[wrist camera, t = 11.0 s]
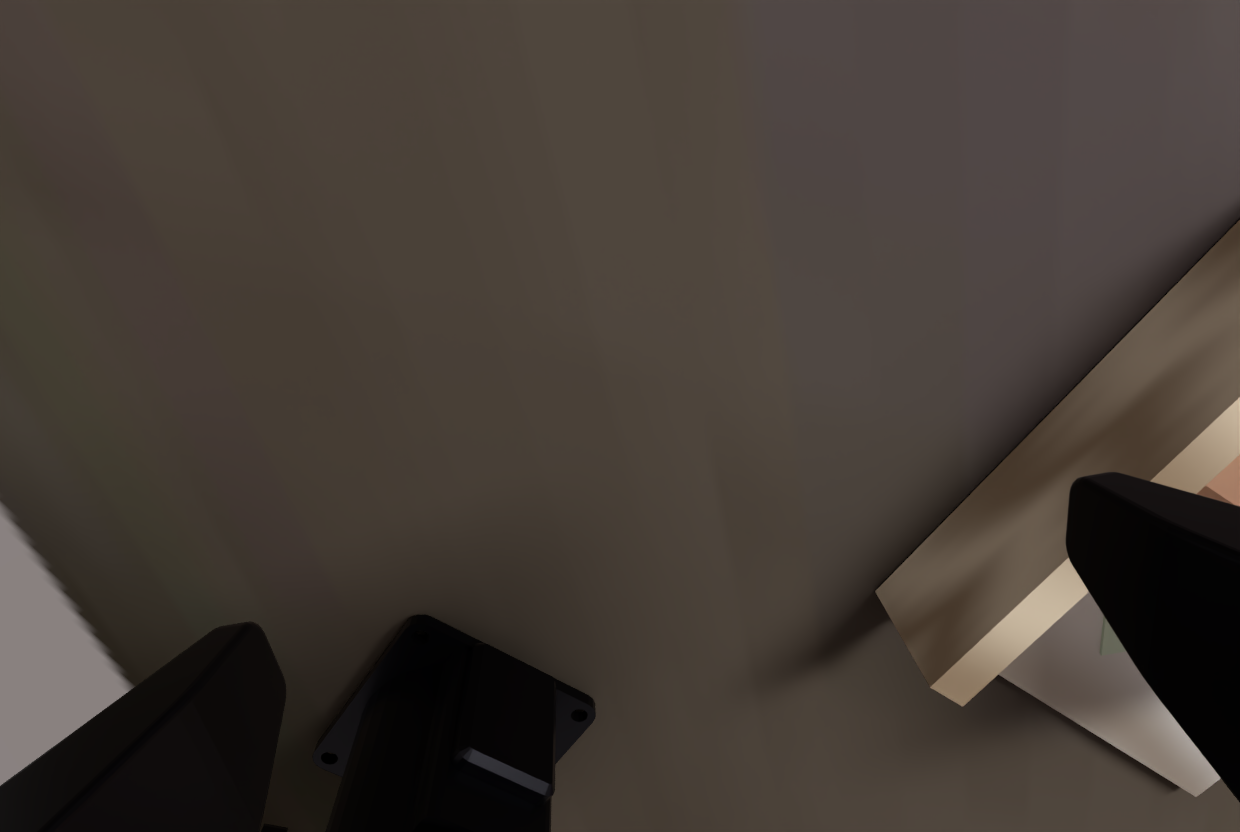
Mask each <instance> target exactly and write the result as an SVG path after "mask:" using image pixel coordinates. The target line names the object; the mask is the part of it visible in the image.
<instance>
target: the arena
mask: <svg viewBox="0 0 1240 832" xmlns="http://www.w3.org/2000/svg"><path fill="white" fill-rule="evenodd" d="M1239 455H1240V220H1239V221H1238V222H1237V223H1236V224H1235V225H1234V226H1233V227H1232V228H1231V229H1230V230H1229V231H1228V232H1227V233H1226V234H1225V235H1224V236H1223V237H1222V238H1221V239H1220V240H1219V241H1218V242H1217V243H1216V244H1215V245H1214V246H1213V247H1212V248H1211V249H1210V250H1209V251H1208V252H1207V254H1206V255H1205V256H1204V257H1203V258H1202V259H1201V260H1200V261H1199V262H1198V263H1197V264H1196V265H1195V266H1194V267H1193V268H1192V269H1191V270H1190V271H1189V272H1188V273H1187V274H1186V275H1185V276H1184V277H1183V278H1182V279H1181V280H1180V281H1179V282H1178V283H1177V284H1176V285H1175V286H1174V287H1173V288H1172V289H1171V290H1170V291H1169V292H1168V293H1167V294H1166V295H1165V296H1164V297H1163V298H1162V299H1161V300H1160V301H1159V302H1158V303H1157V304H1156V305H1155V307H1154V308H1153V309H1152V310H1151V311H1150V312H1149V313H1148V314H1147V315H1146V316H1145V317H1144V318H1143V319H1142V320H1141V321H1140V322H1139V323H1138V324H1137V325H1136V326H1135V327H1134V328H1133V329H1132V330H1131V331H1130V332H1129V333H1128V334H1127V335H1126V336H1125V337H1124V338H1123V339H1122V340H1121V341H1120V342H1119V343H1118V344H1117V345H1116V346H1115V347H1114V348H1113V349H1112V350H1111V351H1110V352H1109V353H1108V354H1107V355H1106V356H1105V357H1104V358H1103V360H1102V361H1101V362H1100V363H1099V364H1098V365H1097V366H1096V367H1095V368H1094V369H1093V370H1092V371H1091V372H1090V373H1089V374H1088V375H1087V376H1086V377H1085V378H1084V379H1083V380H1082V381H1081V382H1080V383H1079V384H1078V385H1077V386H1076V387H1075V388H1074V389H1073V390H1072V391H1071V392H1070V393H1069V394H1068V395H1067V396H1066V397H1065V398H1064V399H1063V400H1062V401H1061V402H1060V403H1059V404H1058V405H1057V406H1056V407H1055V408H1054V409H1053V410H1052V411H1051V412H1050V414H1049V415H1048V416H1047V417H1046V418H1045V419H1044V420H1043V421H1042V422H1041V423H1040V424H1039V425H1038V426H1037V427H1036V428H1035V429H1034V430H1033V431H1032V432H1031V433H1030V434H1029V435H1028V436H1027V437H1026V438H1025V439H1024V440H1023V441H1022V442H1021V443H1020V444H1019V445H1018V446H1017V447H1016V448H1015V449H1014V450H1013V451H1012V452H1011V453H1010V454H1009V455H1008V456H1007V457H1006V458H1005V459H1004V460H1003V461H1002V462H1001V463H1000V464H999V465H998V467H997V468H996V469H995V470H994V471H993V472H992V473H991V474H990V475H989V476H988V477H987V478H986V479H985V480H984V481H983V482H982V483H981V484H980V485H979V486H978V487H977V488H976V489H975V490H974V491H973V492H972V493H971V494H970V495H969V496H968V497H967V498H966V499H965V500H964V501H963V502H962V503H961V504H960V505H959V506H958V507H957V508H956V509H955V510H954V511H953V512H952V513H951V514H950V515H949V516H948V517H947V518H946V520H945V521H944V522H943V523H942V524H941V525H940V526H939V527H938V528H937V529H936V530H935V531H934V532H933V533H932V534H931V535H930V536H929V537H928V538H927V539H926V540H925V541H924V542H923V543H922V544H921V545H920V546H919V547H918V548H917V549H916V550H915V551H914V552H913V553H912V554H911V555H910V556H909V557H908V558H907V559H906V560H905V561H904V562H903V563H902V564H901V565H900V566H899V567H898V568H897V569H896V570H895V571H894V573H893V574H892V575H891V576H890V577H889V578H888V579H887V580H886V581H885V582H884V583H883V584H882V585H881V586H880V587H879V588H878V589H877V590H876V591H875V592H876V594H877V596H878V598H879V599H880V601H881V603H882V604H883V606H884V608H885V610H886V611H887V613H888V615H889V617H890V618H891V620H892V622H893V624H894V625H895V627H896V629H897V631H898V632H899V634H900V636H901V638H902V639H903V641H904V643H905V645H906V646H907V648H908V650H909V652H910V653H911V655H912V657H913V658H914V660H915V662H916V664H917V665H918V667H919V669H920V671H921V672H922V674H923V676H924V678H925V679H926V681H927V683H928V685H929V686H930V688H932V689H934V690H935V691H937V692H939V693H940V694H942V695H944V696H946V697H947V698H949V699H951V700H952V701H954V702H956V703H957V704H959V705H961V706H962V707H963V706H964V705H965V704H966V703H967V702H969V701H970V700H971V699H972V698H973V697H974V696H975V695H976V694H977V693H978V692H979V691H981V690H982V689H983V688H984V687H985V686H986V685H987V684H988V683H989V682H990V681H992V680H993V679H994V678H995V677H996V676H997V675H1000V676H1002V677H1003V678H1005V679H1006V680H1008V681H1010V682H1011V683H1013V684H1015V685H1016V686H1018V687H1019V688H1021V689H1023V690H1024V691H1026V692H1027V693H1029V694H1031V695H1032V696H1034V697H1035V698H1037V699H1039V700H1040V701H1042V702H1044V703H1045V704H1047V705H1048V706H1050V707H1052V708H1053V709H1055V710H1056V711H1058V712H1060V713H1061V714H1063V715H1065V716H1066V717H1068V718H1069V719H1071V720H1073V721H1074V722H1076V723H1077V724H1079V725H1081V726H1082V727H1084V728H1086V729H1087V730H1089V731H1090V732H1092V733H1094V734H1095V735H1097V736H1098V737H1100V738H1102V739H1103V740H1105V741H1107V742H1108V743H1110V744H1111V745H1113V746H1115V747H1116V748H1118V749H1119V750H1121V751H1123V752H1124V753H1126V754H1128V755H1129V756H1131V757H1132V758H1134V759H1136V760H1137V761H1139V762H1140V763H1142V764H1144V765H1145V766H1147V767H1149V768H1150V769H1152V770H1153V771H1155V772H1157V773H1158V774H1160V775H1161V776H1163V777H1165V778H1166V779H1168V780H1169V781H1171V782H1173V783H1174V784H1176V785H1178V786H1179V787H1181V788H1182V789H1184V790H1186V791H1187V792H1189V793H1190V794H1192V795H1194V796H1195V797H1197V796H1198V795H1200V794H1201V793H1202V792H1204V791H1205V790H1206V789H1207V788H1209V787H1210V786H1211V785H1213V784H1214V783H1215V782H1217V781H1218V780H1219V779H1220V777H1219V775H1218V774H1217V773H1216V771H1215V770H1214V769H1213V768H1212V766H1211V765H1210V764H1209V762H1208V761H1207V760H1206V759H1205V757H1204V756H1203V755H1202V753H1201V752H1200V751H1199V750H1198V748H1197V747H1196V746H1195V745H1194V743H1193V742H1192V741H1191V739H1190V738H1189V737H1188V736H1187V734H1186V733H1185V732H1184V730H1183V729H1182V728H1181V727H1180V725H1179V724H1178V723H1177V721H1176V720H1175V719H1174V718H1173V716H1172V715H1171V714H1170V713H1169V711H1168V710H1167V709H1166V707H1165V706H1164V705H1163V704H1162V702H1161V701H1160V700H1159V698H1158V697H1157V696H1156V694H1155V693H1154V692H1153V690H1152V689H1151V688H1150V686H1149V685H1148V684H1147V682H1146V681H1145V679H1144V678H1143V676H1142V675H1141V673H1140V672H1139V670H1138V669H1137V667H1136V666H1135V665H1134V663H1133V662H1132V660H1131V658H1130V657H1129V655H1128V654H1127V652H1126V650H1125V649H1124V647H1123V646H1122V644H1121V642H1120V641H1119V639H1118V638H1117V636H1116V634H1115V633H1114V631H1113V630H1112V628H1111V626H1110V625H1109V623H1108V622H1107V620H1106V618H1105V617H1104V615H1103V614H1102V612H1101V610H1100V609H1099V607H1098V606H1097V604H1096V602H1095V601H1094V599H1093V598H1092V596H1091V594H1090V593H1089V591H1088V590H1087V588H1086V586H1085V585H1084V583H1083V582H1082V580H1081V578H1080V577H1079V575H1078V574H1077V572H1076V570H1075V569H1074V567H1073V565H1072V564H1071V562H1070V559H1069V557H1068V554H1067V550H1066V528H1067V515H1068V503H1069V492H1070V487H1071V485H1072V483H1073V482H1074V481H1075V480H1076V479H1077V478H1079V477H1083V476H1088V475H1094V474H1100V473H1105V472H1119V473H1122V474H1126V475H1130V476H1133V477H1137V478H1140V479H1144V480H1148V481H1151V482H1155V483H1158V484H1162V485H1165V486H1169V487H1173V488H1176V489H1180V490H1183V491H1187V492H1190V493H1194V494H1197V493H1198V492H1199V491H1200V490H1201V489H1202V488H1203V487H1205V486H1206V485H1207V484H1208V483H1209V482H1210V481H1211V480H1212V479H1213V478H1214V477H1216V476H1217V475H1218V474H1219V473H1220V472H1221V471H1222V470H1223V469H1224V468H1225V467H1226V466H1228V465H1229V464H1230V463H1231V462H1232V461H1233V460H1234V459H1235V458H1236V457H1237V456H1239Z"/></svg>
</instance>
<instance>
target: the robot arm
mask: <svg viewBox="0 0 1240 832" xmlns="http://www.w3.org/2000/svg"><path fill="white" fill-rule="evenodd" d="M1066 550H1067V554H1068V557H1069V559H1070V562H1071V564H1072V565H1073V567H1074V569H1075V570H1076V572H1077V574H1078V575H1079V577H1080V578H1081V580H1082V582H1083V583H1084V585H1085V586H1086V588H1087V590H1088V591H1089V593H1090V594H1091V596H1092V598H1093V599H1094V601H1095V602H1096V604H1097V606H1098V607H1099V609H1100V610H1101V612H1102V614H1103V615H1104V617H1105V618H1106V620H1107V622H1108V623H1109V625H1110V626H1111V628H1112V630H1113V631H1114V633H1115V634H1116V636H1117V638H1118V639H1119V641H1120V642H1121V644H1122V646H1123V647H1124V649H1125V650H1126V652H1127V654H1128V655H1129V657H1130V658H1131V660H1132V662H1133V663H1134V665H1135V666H1136V667H1137V669H1138V670H1139V672H1140V673H1141V675H1142V676H1143V678H1144V679H1145V681H1146V682H1147V684H1148V685H1149V686H1150V688H1151V689H1152V690H1153V692H1154V693H1155V694H1156V696H1157V697H1158V698H1159V700H1160V701H1161V702H1162V704H1163V705H1164V706H1165V707H1166V709H1167V710H1168V711H1169V713H1170V714H1171V715H1172V716H1173V718H1174V719H1175V720H1176V721H1177V723H1178V724H1179V725H1180V727H1181V728H1182V729H1183V730H1184V732H1185V733H1186V734H1187V736H1188V737H1189V738H1190V739H1191V741H1192V742H1193V743H1194V745H1195V746H1196V747H1197V748H1198V750H1199V751H1200V752H1201V753H1202V755H1203V756H1204V757H1205V759H1206V760H1207V761H1208V762H1209V764H1210V765H1211V766H1212V768H1213V769H1214V770H1215V771H1216V773H1217V774H1218V775H1219V777H1220V778H1221V779H1222V780H1223V782H1224V783H1225V784H1226V785H1227V787H1228V788H1229V789H1230V791H1231V792H1232V793H1233V794H1234V796H1235V797H1236V798H1237V800H1238V801H1239V802H1240V506H1237V505H1233V504H1230V503H1226V502H1223V501H1219V500H1215V499H1212V498H1208V497H1205V496H1201V495H1198V494H1194V493H1190V492H1187V491H1183V490H1180V489H1176V488H1173V487H1169V486H1165V485H1162V484H1158V483H1155V482H1151V481H1148V480H1144V479H1140V478H1137V477H1133V476H1130V475H1126V474H1122V473H1119V472H1105V473H1100V474H1094V475H1088V476H1083V477H1079V478H1077V479H1076V480H1075V481H1074V482H1073V483H1072V485H1071V487H1070V492H1069V503H1068V515H1067V528H1066ZM419 630H422V631H425V632H426V633H428V635H423V636H422V635H418V634H417V633H416V632H415V631H419ZM285 701H286V684H285V680H284V676H283V674H282V671H281V669H280V667H279V665H278V662H277V660H276V658H275V656H274V653H273V651H272V649H271V647H270V644H269V642H268V640H267V638H266V635H265V633H264V631H263V630H262V628H261V627H260V626H259V625H258V624H256V623H254V622H244V623H238V624H232V625H226V626H221V627H218V628H215V629H214V630H212V631H211V632H209V633H208V634H207V635H205V636H204V637H203V638H201V639H200V640H199V641H197V642H196V643H194V644H193V645H192V646H190V647H189V648H188V649H186V650H185V651H184V652H182V653H181V654H179V655H178V656H177V657H175V658H174V659H173V660H171V661H170V662H169V663H167V664H166V665H164V666H163V667H162V668H160V669H159V670H158V671H156V672H155V673H154V674H152V675H151V676H149V677H148V678H147V679H145V680H144V681H143V682H141V683H140V684H139V685H137V686H136V687H134V688H133V689H132V690H130V691H129V692H128V693H126V694H125V695H124V696H122V697H121V698H119V699H118V700H117V701H115V702H114V703H113V704H111V705H110V706H109V707H107V708H106V709H104V710H103V711H102V712H100V713H99V714H98V715H96V716H95V717H93V718H92V719H91V720H89V721H88V722H87V723H85V724H84V725H83V726H81V727H80V728H79V729H77V730H76V731H74V732H73V733H72V734H71V735H69V736H68V737H66V738H65V739H64V740H62V741H61V742H60V743H58V744H57V745H55V746H54V747H53V748H51V749H50V750H48V751H47V752H46V753H45V754H43V755H42V756H40V757H39V758H38V759H36V760H35V761H34V762H32V763H31V764H29V765H28V766H27V767H25V768H24V769H23V770H21V771H20V772H18V773H17V774H16V775H14V776H13V777H12V778H10V779H9V780H8V781H6V782H5V783H3V784H2V785H1V786H0V832H259V830H260V826H261V822H262V817H263V813H264V808H265V803H266V798H267V793H268V788H269V783H270V778H271V773H272V768H273V763H274V757H275V752H276V747H277V742H278V737H279V732H280V727H281V722H282V717H283V712H284V706H285ZM577 709H582V710H584V711H583V712H575V710H577ZM594 719H595V702H594V700H593V699H592V698H591V697H590V696H589V695H587V694H585V693H583V692H581V691H579V690H577V689H575V688H573V687H571V686H569V685H567V684H565V683H563V682H561V681H559V680H557V679H555V678H553V677H552V676H550V675H548V674H546V673H544V672H542V671H540V670H538V669H536V668H534V667H532V666H530V665H528V664H526V663H524V662H522V661H520V660H518V659H516V658H514V657H512V656H510V655H508V654H506V653H504V652H502V651H500V650H498V649H496V648H494V647H492V646H490V645H488V644H485V643H483V642H481V641H479V640H477V639H475V638H473V637H471V636H469V635H467V634H465V633H463V632H461V631H459V630H457V629H455V628H453V627H451V626H449V625H447V624H445V623H443V622H441V621H439V620H437V619H435V618H433V617H431V616H428V615H416V616H413V617H411V618H410V619H409V620H408V621H407V622H406V623H405V625H404V626H403V627H402V629H401V630H400V632H399V633H398V634H397V636H396V637H395V638H394V640H393V641H392V642H391V644H390V645H389V646H388V648H387V649H386V650H385V652H384V653H383V655H382V656H381V657H380V659H379V660H378V661H377V663H376V664H375V665H374V667H373V668H372V669H371V671H370V672H369V673H368V675H367V676H366V678H365V679H364V680H363V682H362V683H361V684H360V686H359V687H358V688H357V690H356V691H355V692H354V694H353V695H352V696H351V698H350V699H349V701H348V702H347V703H346V705H345V706H344V707H343V709H342V710H341V711H340V713H339V714H338V715H337V717H336V718H335V719H334V721H333V722H332V724H331V725H330V726H329V728H328V729H327V730H326V732H325V733H324V734H323V736H322V737H321V738H320V740H319V741H318V743H317V746H316V748H315V751H314V754H313V761H314V762H315V764H316V765H317V766H319V767H320V768H322V769H324V770H327V771H329V772H331V773H334V774H336V775H338V776H341V777H342V780H341V784H340V787H339V790H338V793H337V797H336V800H335V803H334V806H333V809H332V813H331V816H330V819H329V822H328V825H327V829H326V832H551V796H552V795H553V794H554V791H555V764H556V763H557V762H558V761H559V760H560V758H561V757H562V756H563V755H564V754H565V753H566V752H567V751H568V749H569V748H570V747H571V746H572V745H573V744H574V743H575V742H576V740H577V739H578V738H579V737H580V736H581V735H582V734H583V733H584V731H585V730H586V729H587V728H588V727H589V726H590V725H591V724H592V723H593V721H594ZM328 752H331V753H334V754H330V753H328ZM287 830H288V828H285V827H280V826H274V825H269V824H264V826H263V828H262V831H261V832H287Z"/></svg>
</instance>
